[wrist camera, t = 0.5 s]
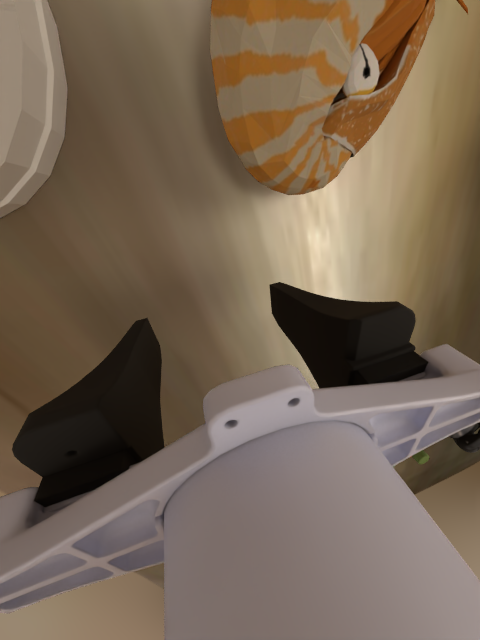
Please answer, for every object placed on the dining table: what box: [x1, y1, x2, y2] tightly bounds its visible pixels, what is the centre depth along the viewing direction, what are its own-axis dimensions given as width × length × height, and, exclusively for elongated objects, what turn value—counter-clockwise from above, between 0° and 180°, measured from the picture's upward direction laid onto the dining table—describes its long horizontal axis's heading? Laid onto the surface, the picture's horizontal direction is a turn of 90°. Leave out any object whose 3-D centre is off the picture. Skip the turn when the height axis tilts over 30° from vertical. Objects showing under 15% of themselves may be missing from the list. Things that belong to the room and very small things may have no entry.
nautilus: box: [210, 0, 468, 195], centre depth 16 cm, size 8×22×15 cm
